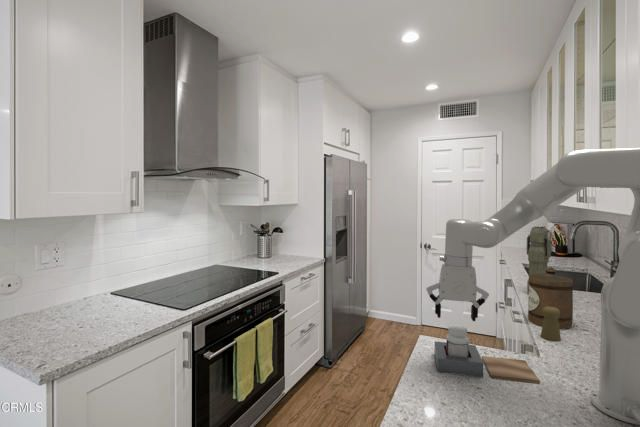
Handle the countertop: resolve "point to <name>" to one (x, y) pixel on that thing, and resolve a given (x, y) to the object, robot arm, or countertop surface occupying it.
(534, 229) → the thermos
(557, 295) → the wooden container
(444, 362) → the metal collar
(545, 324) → the cork
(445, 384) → the countertop surface
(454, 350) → the pill bottle
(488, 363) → the brown pad
